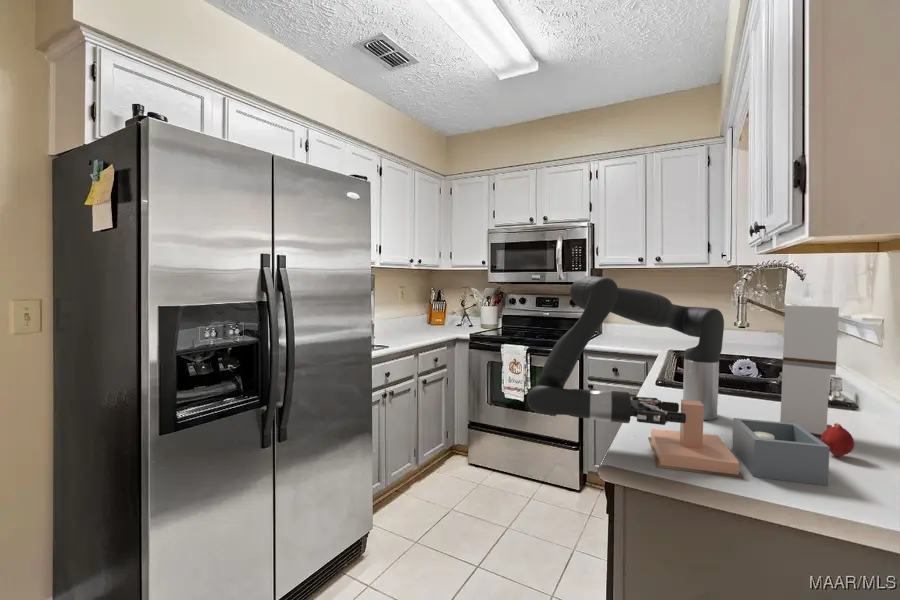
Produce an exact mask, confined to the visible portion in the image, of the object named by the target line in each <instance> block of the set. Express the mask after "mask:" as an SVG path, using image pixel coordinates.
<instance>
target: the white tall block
mask: <svg viewBox="0 0 900 600" xmlns="http://www.w3.org/2000/svg"><path fill="white" fill-rule="evenodd" d="M839 309H840V307H839V305H838V304H833V305H832V306H831V305H830V306H821V305H820V306H819V305H813V306H812V305H798V304H797V305H795V304H792V303H787V304H785V306H784V327H783V328H784V329H783V346H782V347H783V351H782V373H781V397H780V419H779V420H780V421H779V422H784V423H796V424H798V425H800V426H801V427H802V428H804V429H805V430H806V431H808V432H809V433H811V434H812V435H813V436H815V437H816V438H818V439H819V440H820V441H822V440H821V436H822V434H823V432H824V431H825V430H827V429H828V428H830V427H833V425H832V424H828V414H829V413H828V410H829V395H830V389H831V387H830V386H831V376H836V372H837V371H836V370H837V352H838V351H837V350H838V331H839V329H838V328H839V314H840V313H839V311H840V310H839Z"/></svg>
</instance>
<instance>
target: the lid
mask: <svg viewBox="0 0 900 600" xmlns="http://www.w3.org/2000/svg"><path fill="white" fill-rule="evenodd" d="M680 413H685V415H686V422H685V423H680V425H679V426H680V428H679V431H677V430H669V429H668V430H667V429H656V428H651V429H650V430H651V432H650V437H651V439H652V442H653V445H654V448H655V451H656V454H657V457H658V460H659V462H660V465H665V466H673V467H681V468H689V469H697V470H704V471H712V472H720V473H728V474H736V475H739V471H740V462H739V460H737V458H736V457H735V456H734V454H733V453H732V452H731V450H730V449H729V448H728V446H727V445H726V444H725V443H724V441H723V440H722V439H721V438H720V436H719V435H718V434H717V435H715V434H707V433H704V420H703V416H704V405H703V404H702V403H701V402H700V401H693V400H683V399H681V400H680Z"/></svg>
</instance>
